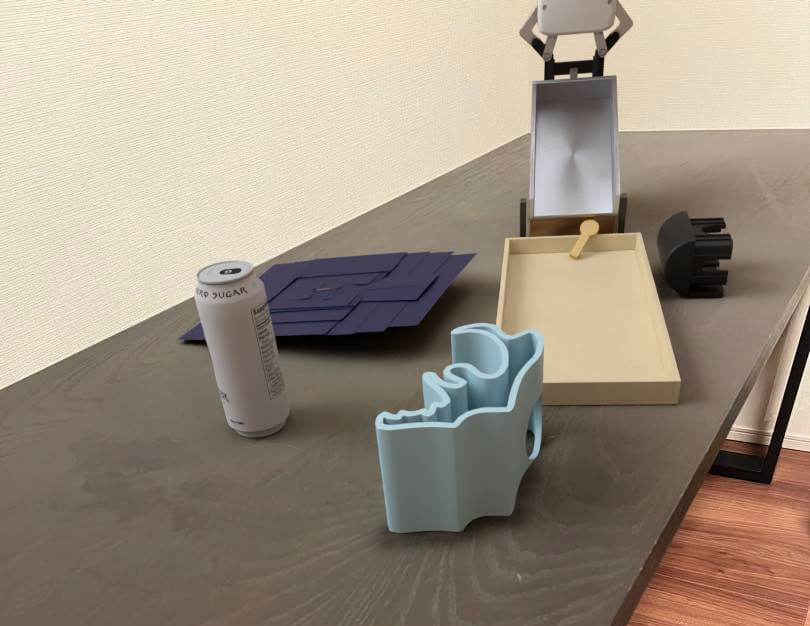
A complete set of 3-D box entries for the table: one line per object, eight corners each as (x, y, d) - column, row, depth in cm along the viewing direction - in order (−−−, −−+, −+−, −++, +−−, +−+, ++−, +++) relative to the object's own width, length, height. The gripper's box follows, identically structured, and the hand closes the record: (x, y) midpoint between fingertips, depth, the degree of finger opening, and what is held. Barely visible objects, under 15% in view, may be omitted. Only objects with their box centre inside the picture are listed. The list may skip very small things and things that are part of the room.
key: (585, 219, 102) (585, 216, 101) (602, 225, 101) (602, 223, 101) (564, 254, 101) (564, 252, 100) (581, 261, 100) (581, 259, 100)
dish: (613, 76, 110) (615, 53, 107) (617, 216, 100) (620, 194, 97) (532, 82, 112) (532, 59, 109) (528, 220, 102) (529, 199, 99)
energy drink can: (236, 410, 79) (198, 260, 69) (295, 406, 78) (265, 255, 69) (223, 442, 74) (181, 287, 64) (286, 438, 73) (253, 281, 64)
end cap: (653, 267, 97) (659, 211, 93) (713, 266, 96) (723, 208, 92) (659, 300, 90) (666, 240, 86) (724, 299, 89) (735, 238, 84)
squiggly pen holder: (507, 547, 59) (506, 441, 53) (382, 530, 62) (369, 428, 56) (548, 422, 72) (552, 326, 66) (444, 413, 75) (438, 320, 69)
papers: (415, 358, 81) (408, 324, 79) (183, 362, 93) (172, 333, 91) (484, 269, 98) (480, 240, 96) (281, 283, 110) (273, 257, 108)
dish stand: (613, 200, 119) (617, 157, 115) (623, 244, 104) (627, 197, 100) (522, 204, 121) (523, 162, 117) (519, 248, 106) (519, 202, 103)
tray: (639, 251, 102) (641, 232, 100) (677, 404, 72) (681, 381, 71) (505, 256, 105) (505, 237, 103) (489, 405, 75) (489, 383, 73)
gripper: (647, -82, 100) (633, 81, 112) (511, -68, 103) (511, 89, 114) (653, -79, 94) (638, 91, 106) (510, -65, 97) (510, 100, 109)
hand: (572, 89), depth 110 cm, fingers closed on dish, 5 cm apart
